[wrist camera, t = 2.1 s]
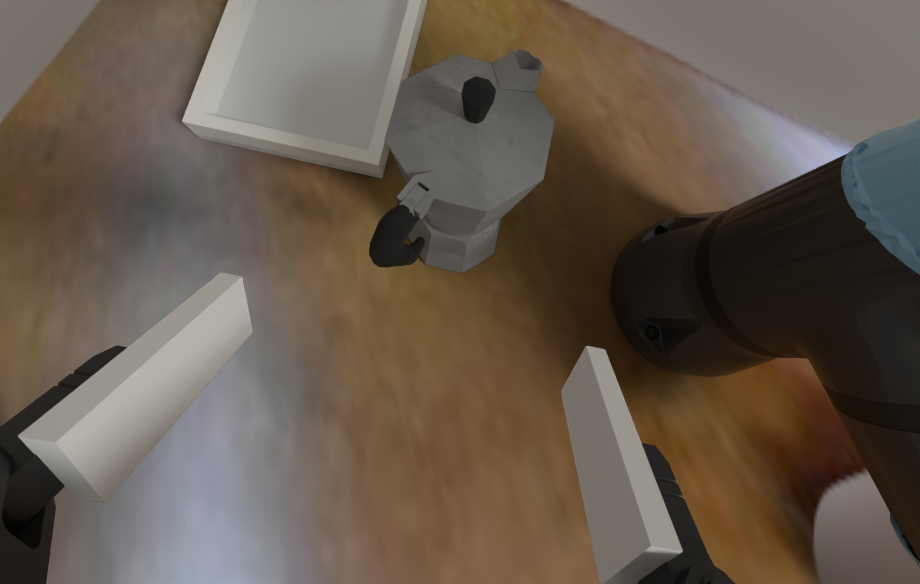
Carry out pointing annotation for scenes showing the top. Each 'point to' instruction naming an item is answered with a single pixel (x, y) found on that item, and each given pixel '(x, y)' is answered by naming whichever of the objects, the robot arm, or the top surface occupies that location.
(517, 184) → the coffeepot
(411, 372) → the top surface
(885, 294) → the robot arm
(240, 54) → the docking tray
